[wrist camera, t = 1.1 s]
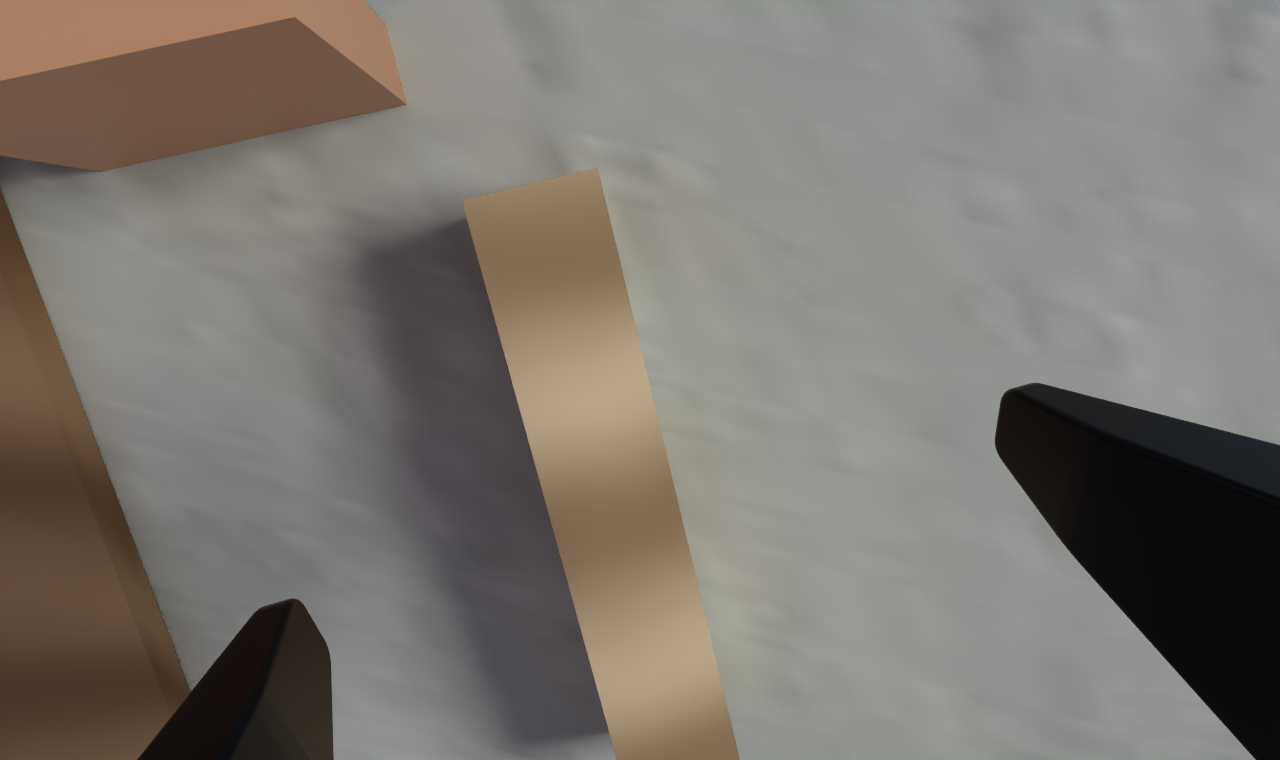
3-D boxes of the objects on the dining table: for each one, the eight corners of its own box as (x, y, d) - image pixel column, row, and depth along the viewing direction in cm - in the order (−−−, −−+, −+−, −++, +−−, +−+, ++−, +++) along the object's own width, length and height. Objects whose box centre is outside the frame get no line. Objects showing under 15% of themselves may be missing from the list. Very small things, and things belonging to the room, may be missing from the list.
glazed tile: (407, 104, 18) (295, 17, 12) (101, 171, 18) (-197, 123, 11) (383, 14, 18) (251, -132, 11) (70, 83, 18) (-259, -23, 11)
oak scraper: (722, 700, 22) (748, 796, 18) (628, 723, 22) (634, 825, 18) (597, 184, 19) (597, 167, 15) (489, 210, 19) (461, 200, 15)
